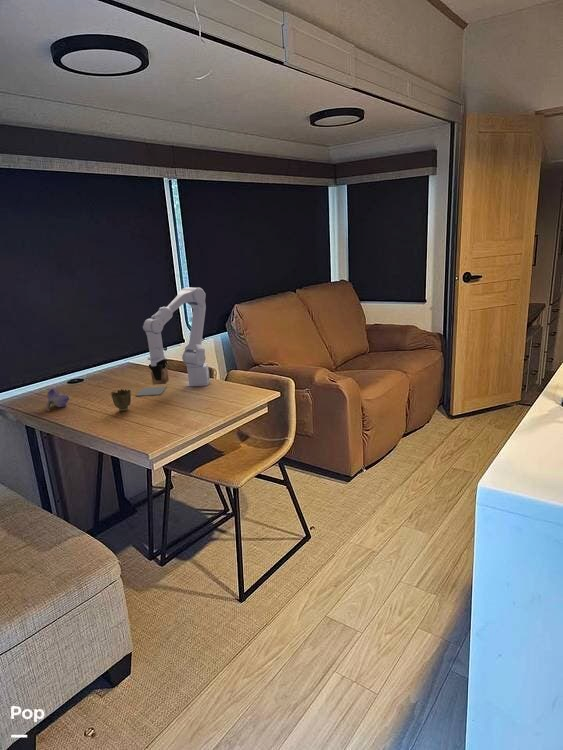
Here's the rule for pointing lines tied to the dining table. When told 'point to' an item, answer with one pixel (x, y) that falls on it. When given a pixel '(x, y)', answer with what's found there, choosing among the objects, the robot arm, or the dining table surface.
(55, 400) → the flower
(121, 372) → the dining table surface
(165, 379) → the walnut cube
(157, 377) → the robot arm
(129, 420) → the dining table surface
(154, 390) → the mat
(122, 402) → the cup
